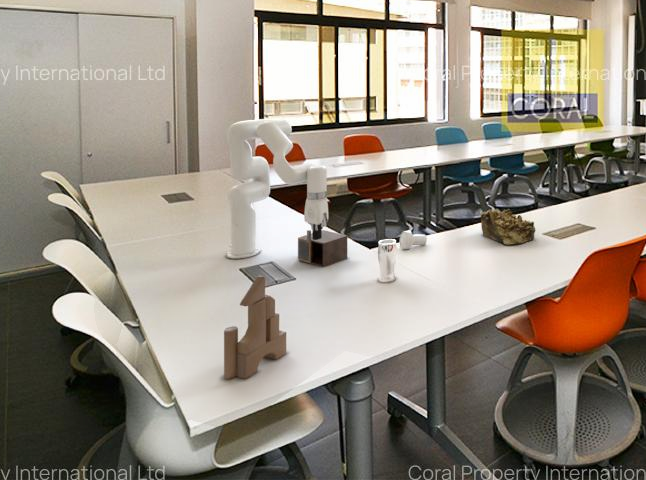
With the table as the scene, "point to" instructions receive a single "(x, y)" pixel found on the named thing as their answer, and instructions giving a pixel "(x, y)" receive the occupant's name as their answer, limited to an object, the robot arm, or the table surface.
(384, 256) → the beer glass
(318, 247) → the cabinet
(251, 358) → the wooden toy
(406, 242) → the spotlight
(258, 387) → the table surface
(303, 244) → the sliding door
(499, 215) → the mineral
